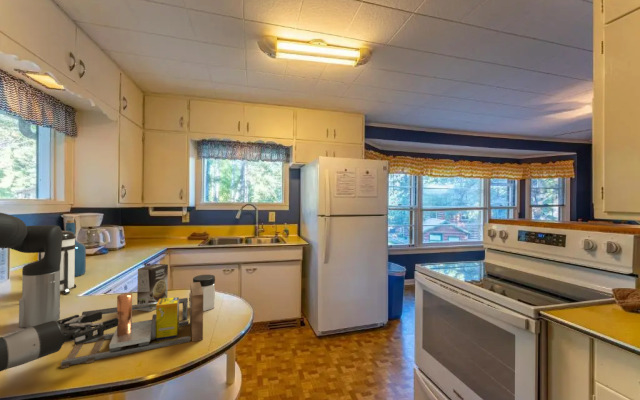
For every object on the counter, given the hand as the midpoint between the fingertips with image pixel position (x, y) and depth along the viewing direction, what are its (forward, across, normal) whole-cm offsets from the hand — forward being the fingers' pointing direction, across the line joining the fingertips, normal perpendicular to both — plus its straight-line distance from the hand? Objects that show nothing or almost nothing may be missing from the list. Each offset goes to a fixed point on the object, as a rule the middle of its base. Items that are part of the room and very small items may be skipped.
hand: (109, 318), depth 80 cm
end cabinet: (+20, -11, +9) cm, 25 cm away
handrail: (+12, +8, +9) cm, 17 cm away
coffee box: (+25, +20, +9) cm, 34 cm away
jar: (+35, +3, +9) cm, 36 cm away
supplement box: (+14, -6, +9) cm, 18 cm away
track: (+6, -1, +9) cm, 11 cm away
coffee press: (+14, +72, +9) cm, 74 cm away
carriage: (+6, -2, +8) cm, 10 cm away
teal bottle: (+30, +101, +9) cm, 106 cm away
